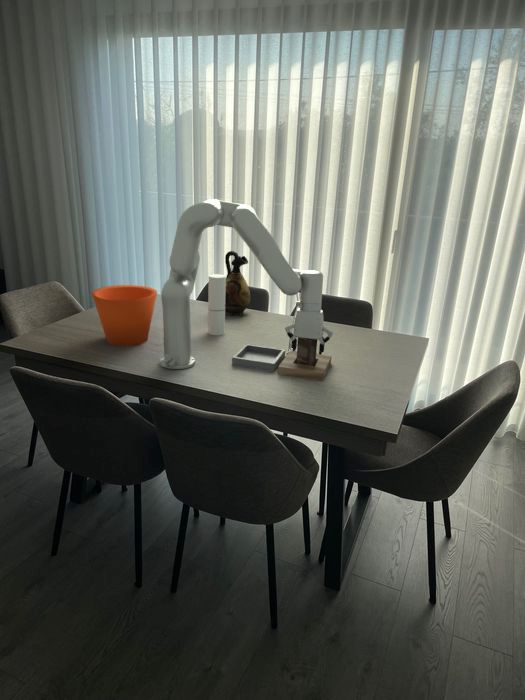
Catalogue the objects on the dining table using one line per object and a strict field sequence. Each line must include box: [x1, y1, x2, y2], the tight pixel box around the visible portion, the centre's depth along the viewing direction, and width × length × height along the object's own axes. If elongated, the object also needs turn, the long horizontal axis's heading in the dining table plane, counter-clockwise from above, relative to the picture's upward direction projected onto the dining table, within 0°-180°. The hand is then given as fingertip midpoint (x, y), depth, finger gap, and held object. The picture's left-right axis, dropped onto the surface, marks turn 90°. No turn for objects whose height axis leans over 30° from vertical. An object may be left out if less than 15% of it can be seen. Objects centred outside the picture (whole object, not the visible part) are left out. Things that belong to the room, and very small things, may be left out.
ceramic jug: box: [224, 250, 251, 316], centre depth 249 cm, size 17×15×30 cm
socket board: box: [277, 349, 332, 382], centre depth 187 cm, size 18×16×3 cm
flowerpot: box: [91, 284, 158, 347], centre depth 206 cm, size 25×25×20 cm
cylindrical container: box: [207, 273, 227, 336], centre depth 218 cm, size 7×7×25 cm
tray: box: [231, 343, 286, 372], centre depth 193 cm, size 16×16×3 cm
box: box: [296, 337, 318, 367], centre depth 186 cm, size 6×4×12 cm
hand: (307, 351), depth 186 cm, fingers open, 9 cm apart
